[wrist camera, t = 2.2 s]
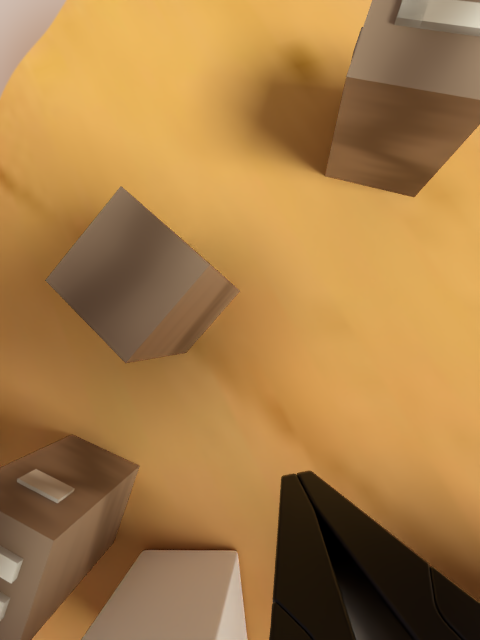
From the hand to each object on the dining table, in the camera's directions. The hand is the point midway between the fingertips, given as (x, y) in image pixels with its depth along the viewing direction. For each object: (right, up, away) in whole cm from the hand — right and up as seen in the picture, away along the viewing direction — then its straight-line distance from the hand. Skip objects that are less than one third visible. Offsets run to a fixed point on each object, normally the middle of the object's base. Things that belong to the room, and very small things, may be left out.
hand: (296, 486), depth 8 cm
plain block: (-6, +6, +14) cm, 16 cm away
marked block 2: (-13, -8, +14) cm, 21 cm away
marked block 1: (+8, +16, +12) cm, 22 cm away
